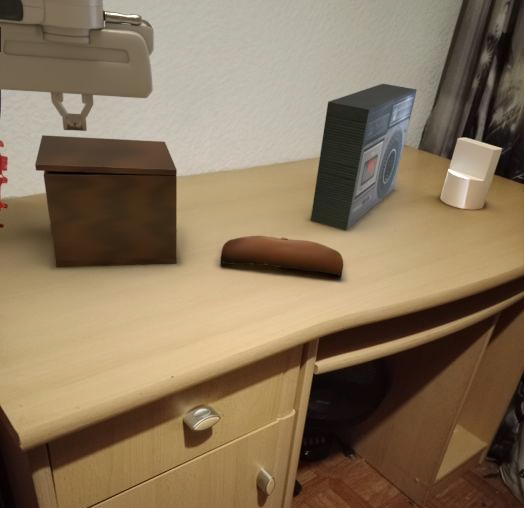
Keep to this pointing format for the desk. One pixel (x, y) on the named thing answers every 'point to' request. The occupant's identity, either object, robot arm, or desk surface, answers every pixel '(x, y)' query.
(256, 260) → the sunglasses case
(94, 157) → the box lid
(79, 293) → the desk surface
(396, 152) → the cassette player
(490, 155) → the base with upright slab
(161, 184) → the box
